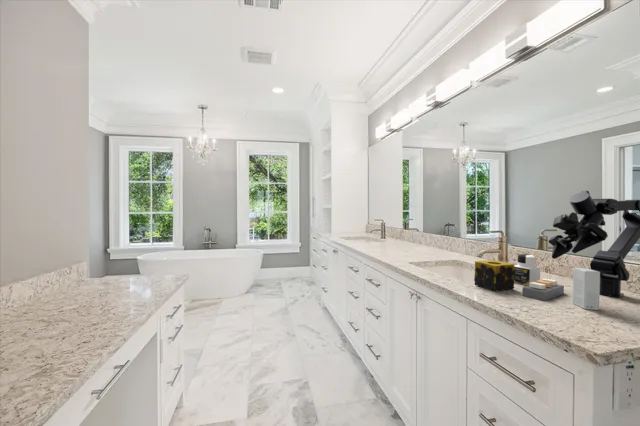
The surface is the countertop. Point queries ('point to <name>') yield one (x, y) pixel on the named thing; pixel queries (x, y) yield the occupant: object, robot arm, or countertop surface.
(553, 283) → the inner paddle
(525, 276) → the medicine bottle
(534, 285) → the block
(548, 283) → the middle paddle
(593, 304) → the skincare box
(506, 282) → the yellow and black cube
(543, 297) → the block
